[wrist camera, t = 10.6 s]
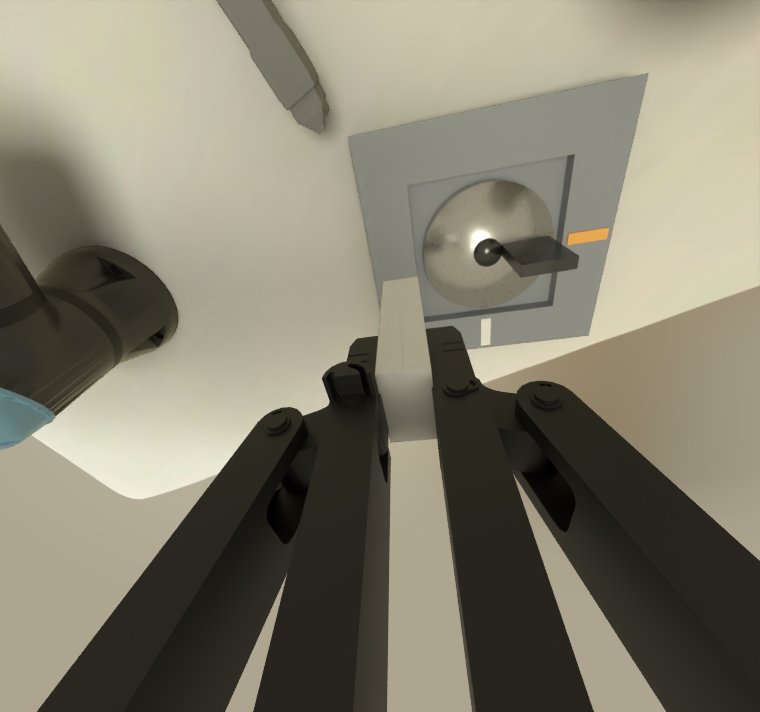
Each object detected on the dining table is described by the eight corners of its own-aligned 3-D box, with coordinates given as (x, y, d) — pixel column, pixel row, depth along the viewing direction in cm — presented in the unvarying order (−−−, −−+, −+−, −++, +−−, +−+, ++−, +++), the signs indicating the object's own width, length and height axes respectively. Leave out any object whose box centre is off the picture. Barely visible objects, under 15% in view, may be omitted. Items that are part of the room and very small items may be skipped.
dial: (542, 294, 40) (572, 327, 33) (429, 311, 42) (436, 346, 35) (555, 165, 32) (599, 174, 25) (416, 194, 34) (421, 209, 27)
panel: (390, 346, 47) (389, 359, 45) (351, 136, 33) (347, 136, 30) (577, 324, 44) (589, 336, 41) (627, 78, 29) (650, 72, 27)
